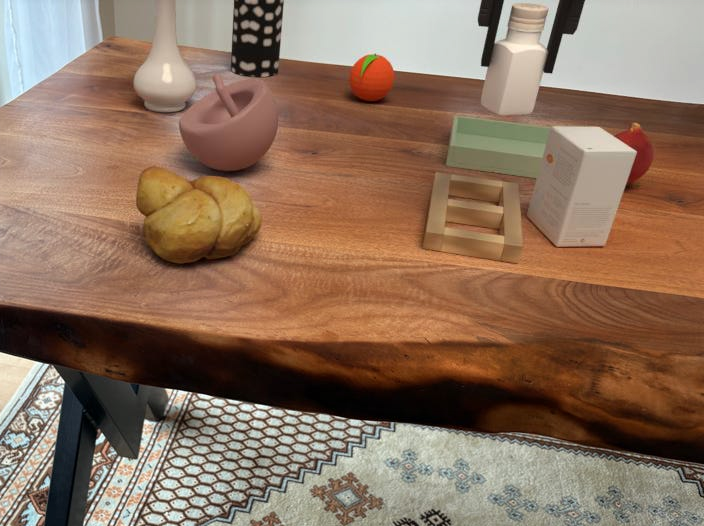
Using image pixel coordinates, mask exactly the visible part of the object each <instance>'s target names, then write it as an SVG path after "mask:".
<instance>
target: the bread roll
mask: <svg viewBox="0 0 704 526" xmlns="http://www.w3.org/2000/svg"><path fill="white" fill-rule="evenodd" d="M253 203H254V202H253V200H252V198H251V196H250V194H249V193H248V192H247V190H245V189H244V187H242V186H241V184H239V183H237V182H235V181H233V180H231V179H230V178H227V177H225V176H224V177H223V176H219V175H215V176H214V175H204V176H200V177H197V178H195V179H193V180H189V179H187V178H186V177H184V176H181V175H179V174H177V173H176V172H173V171H171V170H168V169H166V168H164V167H160V166H156V165H154V166H150V167H147V168H145V169H143V170H142V171H141V173H140V174H139V178H138V183H137V189H136V198H135V206H136V208H137V210H138V211H139V213H140V214H141V215H143V216H144V217H145V218H144V219H143V223H142V224H143V229H144V234H145V242H146V243H147V244H148V246H150V248H151V249H152V250H153V252H154V253H155V254H156V255H157V256H158V257H160V258H162V259H164V260H165V261H167V262H171V263H175V264H186V263H193V262H196V261H199V260H200V259H202V258H206V259H207V260H214V259H221V258H226V257H230V256H233V255H236V254H237V252H238V251H239V250H240V248H241V247H242V246H243V245H247V244H248V243H249V242H251V240H253V238H254V237H255V236H256V235H257V234H258V233H259V232H260V230H261V227H262V224H263V223H262V222H263V216H262V212H261V211H260V209H259V208H257V206H255V205H254V204H253Z"/></svg>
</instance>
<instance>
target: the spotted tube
mask: <svg viewBox="0 0 704 526" xmlns="http://www.w3.org/2000/svg"><path fill="white" fill-rule="evenodd" d="M284 3H285V0H233V11H232V12H233V13H232V31H231V32H232V35H231V56H230V57H231V58H230V71H231V72H232V73H234V74H237V75H239V76H243V77H253V78H265V77H272V76H275V75H277V74H278V73H279V69H280V67H279V66H280V55H281V44H282V43H281V41H282V31H283V30H282V28H283V16H284V6H285V4H284Z"/></svg>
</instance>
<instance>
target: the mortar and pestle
mask: <svg viewBox="0 0 704 526" xmlns="http://www.w3.org/2000/svg"><path fill="white" fill-rule="evenodd" d="M212 80H213V84H214V86H215V90H214V91H212V92H210V93H208V94H206V95H204V96H203V97H201V98H199V100H197V101H196V102H194V103H193V104H192V105H191V106H190V107H189V108H187V109H186V111H184V112H183V113H182V115H181V116H180V118H179V119H178V129H179V133H180V136H181V139H182V141H183V144H184V146H185V147H186V149H187V151H188V152H189V153H190V154H191V155H192V156H193V158H195V159H196V160H197V161H198V162H199V163H201V164H202V165H203V166H206V167H207V168H210V169H213V170H217V171H220V172H237V171H241V170H244V169H247V168H249V167H251V166H252V165H254V164H256V163H258V162H259V161H260V160H261V159H262V158H264V156H265V155H267V153H268V151H269V150H270V148H271V147H272V145H273V143H274V141H275V138H276V135H277V133H278V129H279V128H278V127H279V109H278V105H277V102H276V99H275V97H274V94H273V93H272V90H271V89H270V88H269V86H268V85H267V83H265V81H264V80H263V79H258V77H253V78H247V79H243V80H239V81H236V82H232V83H230V84H228V85H225V83H224V80H223V78H222V75H221V74H220V73H219V72H218V73H213V75H212Z"/></svg>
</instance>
